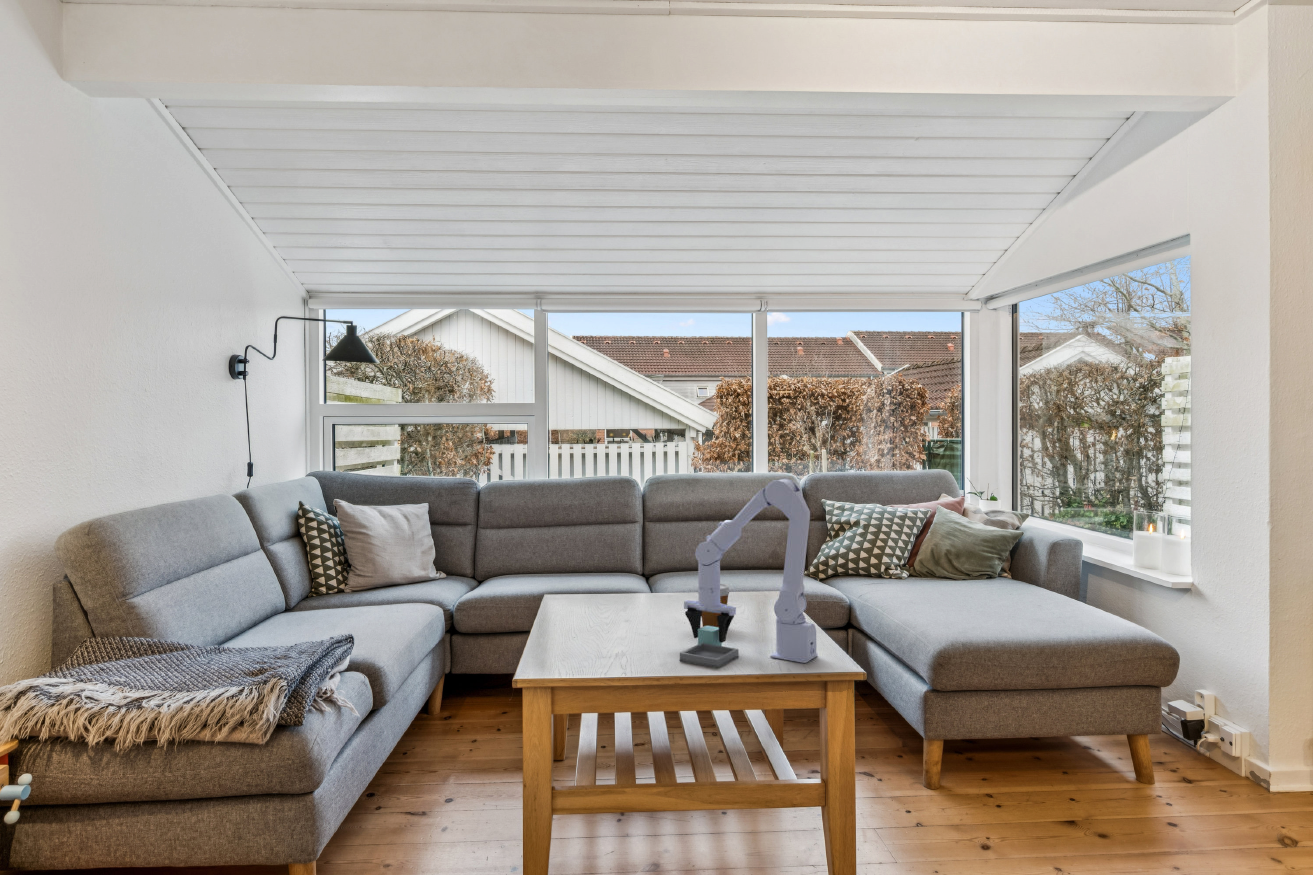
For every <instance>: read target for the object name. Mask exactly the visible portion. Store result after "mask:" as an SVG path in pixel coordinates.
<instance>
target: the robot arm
mask: <svg viewBox="0 0 1313 875" xmlns="http://www.w3.org/2000/svg"><path fill="white" fill-rule="evenodd" d="M771 506H774V507H775V508H777V509H779V510H781V512H782V513H783V514H784V515H785V516H786V517H787V518H788V530H787V538H786V540H787V541H786V547H785V559H784V566H783V578H782V583H781V585H780V589H779V593H778V594H779V595H778V598H777V600H776V601H775V603H774V605H773V606H774V607H773V611H774V614H775V616H776V618H775V628H776V629H775V631H776V632H775V633H776V634H775V635H776V639H775V640H776V642H775V643H776V651H775V652H773V653H771V654H770V655H769V657H770V658H775V659H778V660H779V659H780V660H785V661H791V662H797V663H803V664H807V663H809V662H810V661H811V660H812V659H815V658H816V657H817V656H818V653H817V628H816V625H815V624H814V623H811V622H808V621H807V619H806V617H805V615H804V611H806V609H807V605H808V604H807V598H806V596H805V585H804V578H805V568H806V567H805V566H806V556H807V548H808V538H809V531H810V522H811V521H810V520H811V519H810V518H811V510H810V509H809V507H808V504H807V502H806V500H805V498H804V495H803V493H802V489H801V488H800V487H799V486H798V484H796V483H795V482H794V481H793V480H791V479H789V478H781V479H779V480H778V479H775V480H772V481H770V482H768V483H767V484H766V486H765V487H763V488H762V489H760V490H759V491H758V492H757V493H756V494H755V495H753V497H752V498H751V499H750V500H749V501H748V502H747V503H746V504H745V506H743V508H742V509H741V510H740V511H739V512H738V513H737V514H736V515H735V516H734V518H732V519H731V520H730V519H726V520H724V521H719V523H717V525H716V526H717V528H716V529H715V530H714V531H713V532H712V533H711V534H708V535H706V537H705V540H706V541H703V542H700V543H699V544H698V546H697V547H696V549H695V552H694V554H695V558H696V560H697V563H698V565H697V566H698V567H697V568H698V570H697V574H698V576H697V578H698V580H697V582H698V584H697V585H698V588H697V590H698V592H697V594H698V595H697V596H698V600H690V599H688V600H685V601H683V609H684V610H685V614H684V615H685V617H686V618H687V620H688V622H689V625H690V627H691V631H692V635H693V638H694V639H698V629H700V628H701V624H702V623H701V622H702V617H701V615H702V611H708V612H714V613H721V615H718V616H717V621H718V626H719V642H720V643H725V642H726V639H727V634H728V631H729V628H730V626H731V624H732V621H733V619H734V618H735V615H737V607H736V606H731V605H728V604H727V605H725V604H721V603H720V584H721V559H722V558H723V556H724V553H726V552H727V551H728V550H729V549H730V548H731V547H732V545H734V544H735V543H736V542H737V541H738V540H739V539H740V538H741V536H742V529H743V528H744V527H745V526H746V525H747V524H748V523H749V522H750V521H751V520H753V519H754V518H755V517H756V516H757V515H758V514H759V513H760V512H761V511H762V510H763V509H765V508H768V507H771Z"/></svg>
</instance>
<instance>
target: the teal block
mask: <svg viewBox="0 0 1313 875" xmlns="http://www.w3.org/2000/svg"><path fill="white" fill-rule="evenodd" d="M700 643H706V644H711V645H717V646H722V643H723V642H722V643H720V642H719V627H713V626H704V627H703V626H702V627H700V629H698V638H697V645H698V644H700Z"/></svg>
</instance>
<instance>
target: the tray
mask: <svg viewBox="0 0 1313 875" xmlns="http://www.w3.org/2000/svg"><path fill="white" fill-rule="evenodd" d="M738 658H739V649H738V648H733V647H727V646H717V645H711V644H706V643H700V644H698V643H697V644H696V645H693V646H692V647H690V648H688V649H686V650H683V651H681V652H679V662H682V663H687V664H693V665H697V666H703V667H707V668H713V669H719V668H721V667H723V666H725V665H727V664H729V663H730V662H733V661H734V660H736V659H738Z"/></svg>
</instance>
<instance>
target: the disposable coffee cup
mask: <svg viewBox="0 0 1313 875" xmlns="http://www.w3.org/2000/svg"><path fill="white" fill-rule="evenodd" d="M696 592H697V593H698V589H696ZM730 592H731V590H730V587H729V584H725V583H720V603H721V604H725V605H728V601H729V599H728V598H729V594H730ZM718 615H721V613H714V612H708V611H702V615H701V622H702V623H701V625H702V627H704V626H713V627H719V626H718V621H717V616H718Z"/></svg>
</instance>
